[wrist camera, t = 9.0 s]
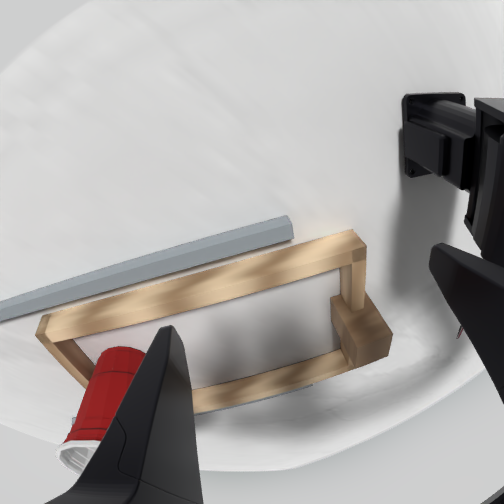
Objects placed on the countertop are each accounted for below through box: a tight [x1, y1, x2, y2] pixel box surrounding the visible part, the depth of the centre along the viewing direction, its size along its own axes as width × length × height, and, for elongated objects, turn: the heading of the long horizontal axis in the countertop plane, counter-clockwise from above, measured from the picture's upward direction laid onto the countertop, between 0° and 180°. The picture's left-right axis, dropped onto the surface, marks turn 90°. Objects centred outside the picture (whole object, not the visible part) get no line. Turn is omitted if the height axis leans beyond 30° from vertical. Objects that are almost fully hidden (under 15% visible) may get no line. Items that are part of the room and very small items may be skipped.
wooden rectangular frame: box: [35, 229, 393, 414], centre depth 25 cm, size 28×16×6 cm, turn 102°
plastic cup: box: [56, 346, 146, 476], centre depth 22 cm, size 11×11×12 cm
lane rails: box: [0, 215, 313, 426], centre depth 27 cm, size 32×22×1 cm
